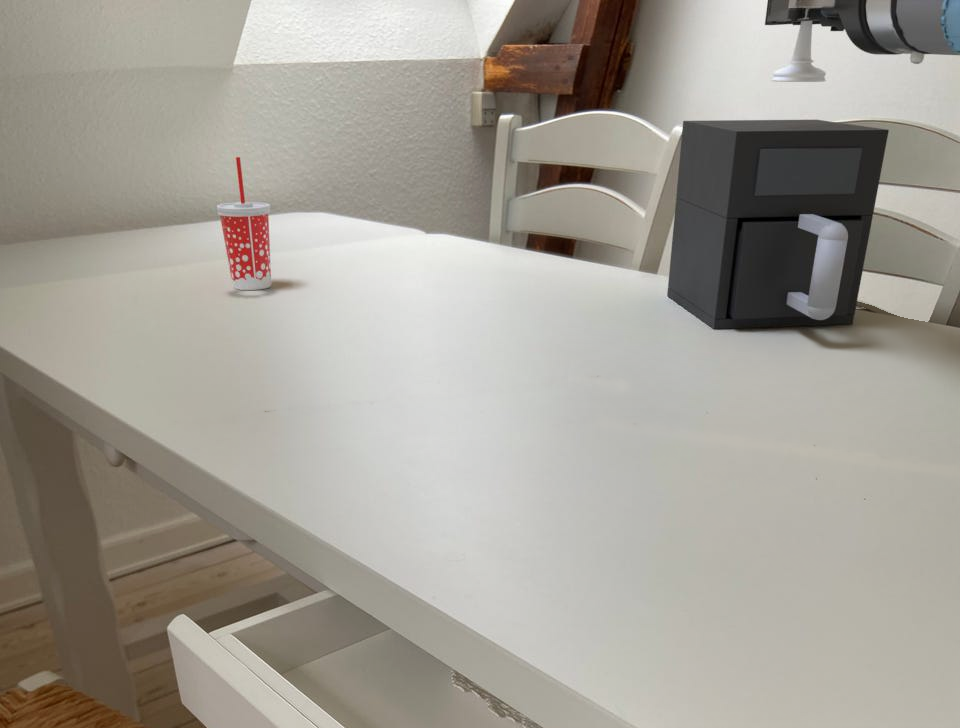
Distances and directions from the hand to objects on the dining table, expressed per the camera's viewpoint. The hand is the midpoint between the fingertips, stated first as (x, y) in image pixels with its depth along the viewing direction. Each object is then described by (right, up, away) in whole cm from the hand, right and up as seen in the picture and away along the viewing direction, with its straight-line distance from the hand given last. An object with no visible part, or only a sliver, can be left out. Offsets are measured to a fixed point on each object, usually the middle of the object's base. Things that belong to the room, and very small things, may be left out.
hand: (784, 8), depth 96 cm
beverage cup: (-57, -18, +24) cm, 64 cm away
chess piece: (+1, -8, -2) cm, 8 cm away
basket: (+1, -26, +8) cm, 28 cm away
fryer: (+1, -25, +13) cm, 28 cm away
